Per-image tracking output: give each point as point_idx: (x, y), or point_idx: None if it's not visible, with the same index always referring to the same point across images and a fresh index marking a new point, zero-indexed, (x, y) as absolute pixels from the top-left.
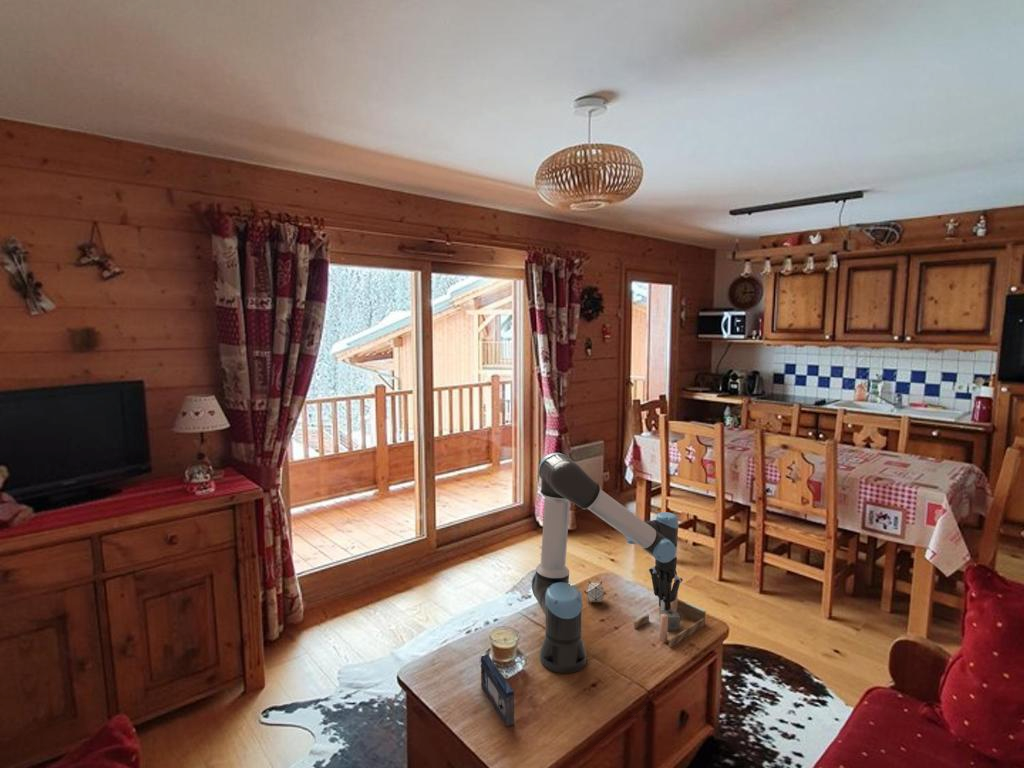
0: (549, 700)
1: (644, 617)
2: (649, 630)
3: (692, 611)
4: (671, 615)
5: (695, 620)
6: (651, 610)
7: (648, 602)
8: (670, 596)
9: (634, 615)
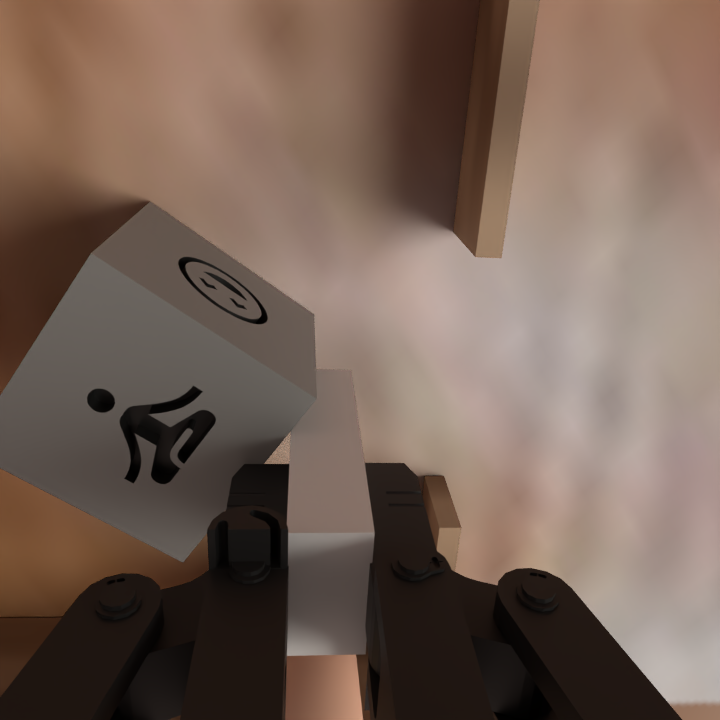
0: None
1: (493, 127)
2: (317, 15)
3: None
4: (86, 380)
5: None
6: (550, 463)
7: (652, 567)
8: (80, 702)
9: (675, 208)
